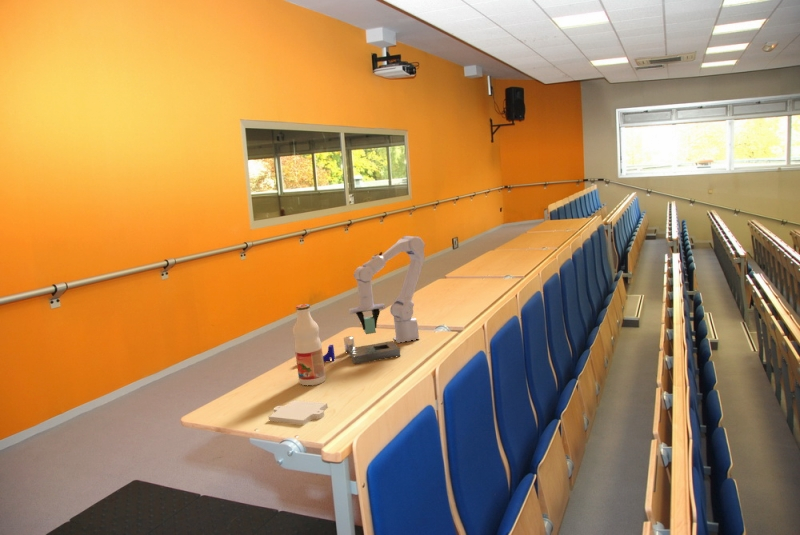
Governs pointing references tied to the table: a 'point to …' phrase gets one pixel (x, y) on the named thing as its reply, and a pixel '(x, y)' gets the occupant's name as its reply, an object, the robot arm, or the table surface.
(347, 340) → the round peg
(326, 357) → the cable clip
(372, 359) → the bore block
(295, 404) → the mounting plate
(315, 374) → the fruit juice
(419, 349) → the table surface
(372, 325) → the square peg
